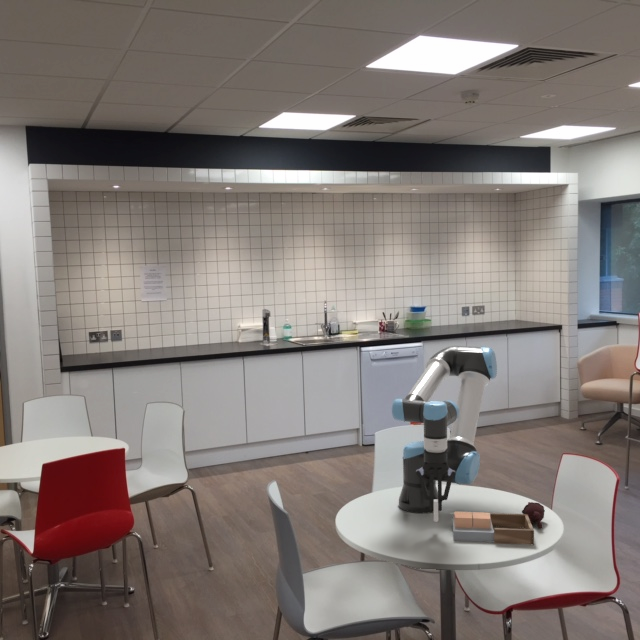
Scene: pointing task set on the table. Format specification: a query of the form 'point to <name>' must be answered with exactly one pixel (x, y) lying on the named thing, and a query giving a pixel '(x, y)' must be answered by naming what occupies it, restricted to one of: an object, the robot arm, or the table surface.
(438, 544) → the table surface
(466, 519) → the tile
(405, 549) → the table surface
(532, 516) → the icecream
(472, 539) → the board
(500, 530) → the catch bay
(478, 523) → the tile
